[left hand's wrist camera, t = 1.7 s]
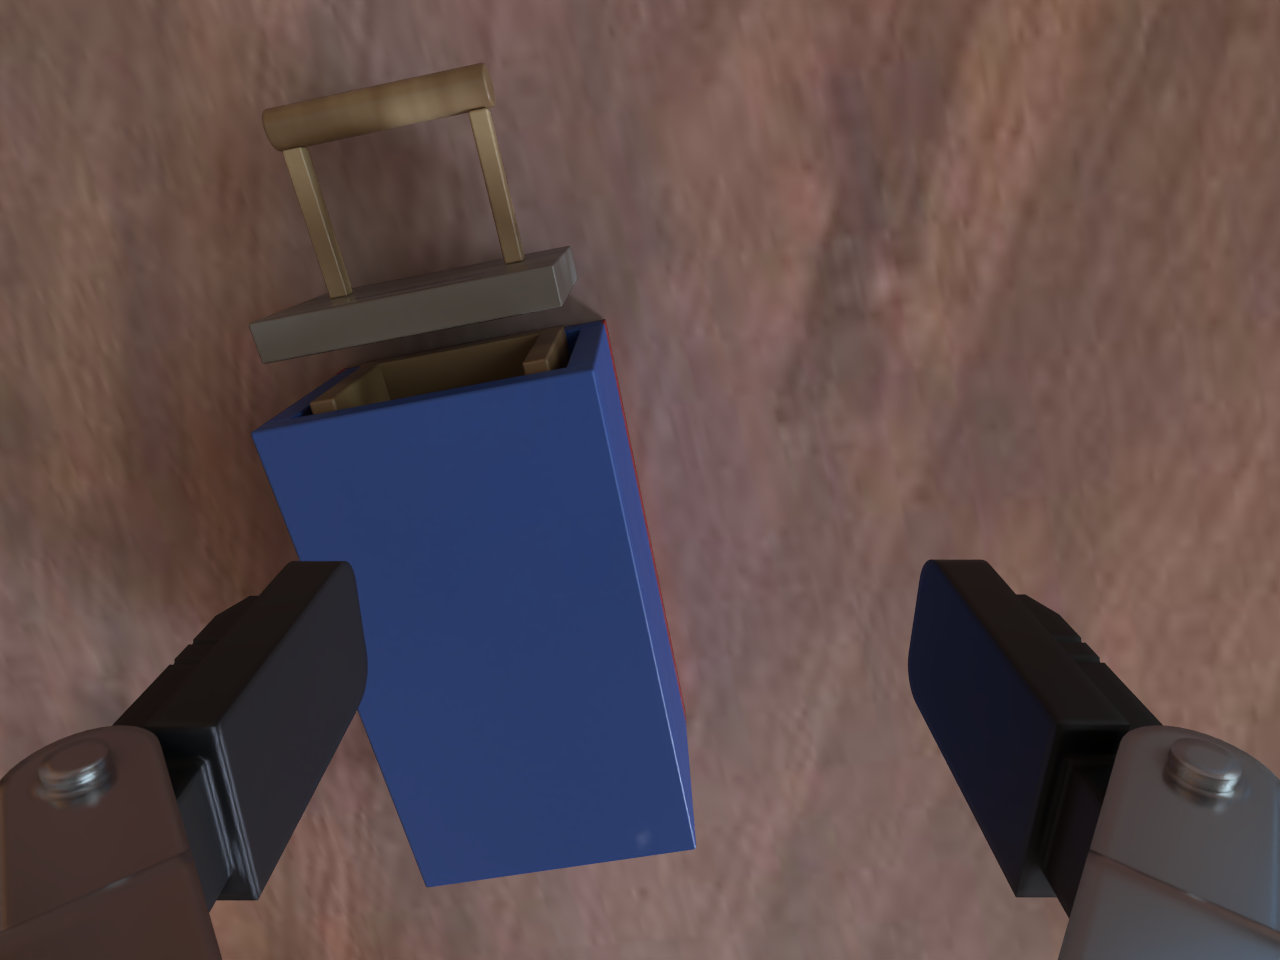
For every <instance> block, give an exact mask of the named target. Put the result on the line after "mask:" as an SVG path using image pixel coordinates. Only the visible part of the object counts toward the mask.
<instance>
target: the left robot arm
mask: <svg viewBox="0 0 1280 960" xmlns="http://www.w3.org/2000/svg"><path fill="white" fill-rule="evenodd" d="M367 673H368V658H367V651H366V644H365V637H364V631H363V624H362V617H361V611H360V604H359V597H358V591H357V584H356V578H355V574H354V570H353V568H352V566H351V565H350V563H348V562H347V561H291V562H289V563H288V564H287V565H286V566H285V567H284V568H283V569H282V570H281V572H280V573H279V574H278V575H277V576H276V577H275V578H274V579H273V581H272V582H271V583H270V584H269V585H268V586H267V587H266V588H265V590H264V591H263V592H262V593H261V594H260V595H259V596H249V597H247V598H246V599H244V600H242V601H240V602H239V603H237V604H235V605H234V606H232V607H230V608H229V609H227V610H225V611H223V612H222V613H220V614H218V615H217V616H215V617H214V618H213V619H212V620H211V621H210V623H209V624H208V625H207V626H206V627H205V628H204V629H203V630H202V631H201V632H200V633H199V634H198V635H197V636H196V637H195V638H194V639H193V644H189V645H188V646H187V647H186V648H185V649H184V650H183V651H182V652H181V653H180V654H179V655H178V656H177V657H176V659H175V663H174V665H169V666H168V667H167V668H166V669H165V670H164V671H163V672H162V673H161V674H160V675H159V677H158V678H157V679H156V680H155V681H154V682H153V683H152V684H151V685H150V686H149V687H148V688H147V689H146V690H145V691H144V692H143V693H142V694H141V696H140V697H139V698H138V699H137V700H136V701H135V702H134V703H133V704H132V705H131V706H130V707H129V708H128V709H127V710H126V711H125V712H124V714H123V715H122V716H121V717H120V718H119V719H118V720H117V721H116V722H115V723H114V724H113V725H112V726H107V727H100V728H95V729H91V730H86V731H83V732H80V733H76V734H73V735H70V736H68V737H65V738H63V739H60V740H58V741H56V742H53V743H51V744H49V745H47V746H45V747H43V748H41V749H40V750H38V751H36V752H34V753H32V754H31V755H29V756H28V757H26V758H25V759H23V760H22V761H21V762H19V763H18V764H17V765H16V766H14V767H13V768H12V769H11V770H10V771H9V772H8V773H7V774H6V775H5V776H4V777H3V778H2V779H1V780H0V960H222V957H221V954H220V950H219V947H218V943H217V940H216V936H215V933H214V929H213V926H212V922H211V919H210V915H209V912H210V910H211V909H212V907H213V905H214V903H215V902H216V900H258V899H259V897H260V895H261V893H262V891H263V889H264V887H265V885H266V884H267V882H268V880H269V878H270V876H271V874H272V872H273V870H274V868H275V866H276V864H277V862H278V861H279V859H280V857H281V855H282V853H283V851H284V849H285V847H286V845H287V843H288V841H289V839H290V838H291V836H292V834H293V832H294V830H295V828H296V826H297V824H298V822H299V820H300V818H301V816H302V814H303V813H304V811H305V809H306V807H307V805H308V803H309V801H310V799H311V797H312V795H313V793H314V791H315V790H316V788H317V786H318V784H319V782H320V780H321V778H322V776H323V774H324V772H325V770H326V768H327V767H328V765H329V763H330V761H331V759H332V757H333V755H334V753H335V751H336V749H337V747H338V745H339V744H340V742H341V740H342V738H343V736H344V734H345V732H346V730H347V728H348V726H349V724H350V722H351V720H352V719H353V717H354V715H355V713H356V711H357V709H358V707H359V705H360V703H361V701H362V698H363V695H364V692H365V688H366V682H367ZM908 673H909V682H910V687H911V691H912V694H913V697H914V700H915V702H916V704H917V706H918V708H919V710H920V712H921V714H922V716H923V718H924V720H925V721H926V723H927V725H928V727H929V729H930V731H931V733H932V735H933V737H934V739H935V741H936V743H937V745H938V747H939V749H940V751H941V753H942V754H943V756H944V758H945V760H946V762H947V764H948V766H949V768H950V770H951V772H952V774H953V776H954V778H955V780H956V782H957V784H958V786H959V787H960V789H961V791H962V793H963V795H964V797H965V799H966V801H967V803H968V805H969V807H970V809H971V811H972V813H973V815H974V817H975V819H976V821H977V822H978V824H979V826H980V828H981V830H982V832H983V834H984V836H985V838H986V840H987V842H988V844H989V846H990V848H991V850H992V852H993V854H994V855H995V857H996V859H997V861H998V863H999V865H1000V867H1001V869H1002V871H1003V873H1004V875H1005V877H1006V879H1007V881H1008V883H1009V885H1010V887H1011V888H1012V890H1013V892H1014V894H1015V896H1016V897H1057V898H1058V900H1059V902H1060V903H1061V905H1062V907H1063V909H1064V910H1065V912H1066V914H1067V916H1068V917H1069V922H1068V926H1067V929H1066V933H1065V936H1064V940H1063V943H1062V947H1061V950H1060V954H1059V957H1058V960H1280V780H1279V779H1278V778H1277V777H1276V776H1275V775H1274V774H1273V773H1272V772H1271V771H1270V770H1269V769H1268V768H1267V767H1266V766H1264V765H1263V764H1262V763H1261V762H1259V761H1258V760H1257V759H1255V758H1254V757H1252V756H1251V755H1249V754H1248V753H1246V752H1244V751H1242V750H1240V749H1239V748H1237V747H1235V746H1233V745H1231V744H1229V743H1227V742H1224V741H1222V740H1220V739H1217V738H1215V737H1212V736H1210V735H1207V734H1204V733H1200V732H1197V731H1194V730H1189V729H1185V728H1180V727H1173V726H1163V725H1162V724H1161V723H1160V722H1159V721H1158V720H1157V718H1156V717H1155V716H1154V715H1153V714H1152V713H1151V712H1150V711H1149V710H1148V709H1147V708H1146V707H1145V706H1144V705H1143V704H1142V702H1141V701H1140V700H1139V699H1138V698H1137V697H1136V696H1135V695H1134V694H1133V693H1132V692H1131V691H1130V690H1129V689H1128V688H1127V686H1126V685H1125V684H1124V683H1123V682H1122V681H1121V680H1120V679H1119V678H1118V677H1117V676H1116V675H1115V674H1114V673H1113V672H1112V670H1111V669H1110V668H1109V667H1108V666H1107V665H1106V664H1105V663H1100V660H1099V657H1098V656H1097V654H1096V653H1095V652H1094V651H1093V650H1092V649H1091V648H1090V647H1089V646H1088V645H1087V644H1086V643H1082V642H1081V637H1080V636H1079V635H1078V634H1077V633H1076V632H1075V631H1074V630H1073V629H1072V628H1071V627H1070V626H1069V625H1068V623H1067V622H1066V621H1065V620H1064V619H1063V618H1062V617H1061V616H1060V615H1059V614H1057V613H1056V612H1054V611H1052V610H1051V609H1049V608H1047V607H1045V606H1044V605H1042V604H1040V603H1039V602H1037V601H1035V600H1034V599H1032V598H1030V597H1029V596H1027V595H1016V594H1015V593H1014V592H1013V591H1012V589H1011V588H1010V587H1009V586H1008V585H1007V584H1006V583H1005V581H1004V580H1003V579H1002V578H1001V577H1000V576H999V575H998V573H997V572H996V571H995V570H994V569H993V568H992V567H991V566H990V564H989V563H988V562H986V561H984V560H928V561H927V562H926V563H925V564H924V566H923V568H922V571H921V575H920V581H919V588H918V594H917V601H916V608H915V615H914V621H913V628H912V635H911V642H910V648H909V656H908Z"/></svg>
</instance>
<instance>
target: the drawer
mask: <svg viewBox="0 0 1280 960" xmlns="http://www.w3.org/2000/svg"><path fill="white" fill-rule="evenodd" d="M494 106H495V93H494V88H493V84H492V80H491V77H490V74H489V71H488V69H487V67H486V65H485V64H484V63H479V64H474V65H469V66H465V67H460V68H455V69H451V70H446V71H442V72H437V73H432V74H428V75H423V76H418V77H414V78H409V79H404V80H400V81H395V82H390V83H386V84H381V85H376V86H372V87H367V88H362V89H358V90H353V91H348V92H344V93H339V94H334V95H330V96H325V97H320V98H316V99H311V100H306V101H302V102H297V103H293V104H288V105H283V106H279V107H274V108H269V109H266V110H265V111H264V112H263V115H262V120H263V126H264V129H265V132H266V135H267V137H268V139H269V141H270V142H271V144H272V145H273V147H274V148H275V149H276V150H278V151H282V152H283V155H284V158H285V161H286V164H287V167H288V170H289V173H290V176H291V179H292V182H293V186H294V189H295V192H296V195H297V198H298V201H299V204H300V207H301V210H302V213H303V216H304V219H305V222H306V225H307V228H308V231H309V234H310V238H311V241H312V244H313V247H314V250H315V253H316V256H317V259H318V262H319V265H320V268H321V271H322V274H323V277H324V280H325V283H326V286H327V290H328V293H327V294H324V295H322V296H319V297H316V298H314V299H311V300H309V301H306V302H304V303H301V304H299V305H296V306H293V307H291V308H288V309H286V310H283V311H281V312H278V313H276V314H273V315H270V316H268V317H265V318H263V319H260V320H258V321H255V322H253V323H250V324H249V328H250V331H251V333H252V336H253V339H254V341H255V344H256V347H257V349H258V352H259V355H260V358H261V360H262V363H264V364H266V363H272V362H277V361H282V360H287V359H293V358H298V357H303V356H308V355H313V354H319V353H324V352H329V351H334V350H339V349H345V348H350V347H355V346H360V345H365V344H371V343H376V342H381V341H386V340H391V339H397V338H402V337H407V336H412V335H418V334H423V333H428V332H433V331H438V330H444V329H449V328H454V327H459V326H464V325H470V324H475V323H480V322H485V321H490V320H496V319H501V318H506V317H511V316H516V315H522V314H527V313H532V312H537V311H543V310H548V309H553V308H558V307H561V306H562V305H563V304H564V302H565V300H566V298H567V297H568V295H569V293H570V291H571V290H572V288H573V286H574V284H575V283H576V281H577V274H576V269H575V264H574V260H573V255H572V250H571V247H570V246H566V247H561V248H556V249H551V250H545V251H540V252H535V253H530V254H525V255H524V252H523V247H522V243H521V239H520V234H519V230H518V226H517V222H516V217H515V213H514V209H513V205H512V200H511V196H510V192H509V187H508V183H507V179H506V175H505V170H504V166H503V162H502V157H501V153H500V149H499V145H498V140H497V136H496V132H495V128H494V123H493V119H492V115H491V111H490V109H487V108H492V107H494ZM468 112H469V118H470V122H471V127H472V131H473V135H474V139H475V143H476V147H477V151H478V155H479V159H480V164H481V168H482V172H483V176H484V180H485V184H486V188H487V192H488V196H489V201H490V205H491V209H492V213H493V217H494V221H495V225H496V229H497V233H498V237H499V242H500V246H501V250H502V254H503V258H504V259H500V260H495V261H490V262H485V263H480V264H474V265H469V266H464V267H459V268H454V269H449V270H444V271H439V272H434V273H429V274H424V275H419V276H414V277H409V278H403V279H398V280H393V281H388V282H383V283H378V284H373V285H368V286H363V287H358V288H353V289H352V287H351V284H350V281H349V278H348V275H347V271H346V268H345V265H344V262H343V259H342V256H341V252H340V249H339V246H338V243H337V240H336V237H335V233H334V230H333V227H332V224H331V221H330V218H329V214H328V211H327V208H326V205H325V202H324V199H323V195H322V192H321V189H320V186H319V183H318V180H317V176H316V173H315V170H314V167H313V164H312V161H311V157H310V154H309V151H308V149H307V148H305V147H307V146H311V145H316V144H321V143H326V142H330V141H335V140H340V139H345V138H349V137H354V136H359V135H364V134H368V133H373V132H378V131H383V130H387V129H392V128H397V127H401V126H406V125H411V124H416V123H420V122H425V121H430V120H435V119H439V118H444V117H449V116H454V115H458V114H463V113H468ZM570 357H571V355H570V351H569V346H568V342H567V338H566V333H565V329H564V326H563V325H561V326H555V327H550V328H545V329H540V330H534V331H529V332H524V333H519V334H513V335H508V336H503V337H498V338H492V339H487V340H482V341H477V342H471V343H466V344H461V345H456V346H450V347H445V348H440V349H435V350H429V351H424V352H419V353H414V354H408V355H403V356H398V357H393V358H387V359H382V360H377V361H372V362H367V363H365V364H364V365H362V366H361V367H359V369H357V370H356V371H355V372H353V373H352V374H350V375H349V376H347V377H346V378H345V379H343V380H342V381H340V382H339V383H338V384H336V385H335V386H333V387H332V388H330V389H329V390H328V391H326V392H325V393H323V394H322V395H320V396H319V397H318V398H316V399H315V400H313V401H312V402H311V403H310V407H311V410H312V413H313V415H315V414H320V413H325V412H331V411H336V410H341V409H347V408H352V407H358V406H363V405H368V404H374V403H379V402H384V401H390V400H395V399H400V398H406V397H411V396H416V395H422V394H427V393H433V392H438V391H443V390H449V389H454V388H459V387H465V386H470V385H475V384H481V383H486V382H491V381H497V380H502V379H508V378H513V377H518V376H524V375H529V374H534V373H540V372H545V371H550V370H556V369H561V368H566V367H567V365H568V362H569V360H570Z"/></svg>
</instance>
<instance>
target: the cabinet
mask: <svg viewBox="0 0 1280 960" xmlns="http://www.w3.org/2000/svg"><path fill="white" fill-rule="evenodd" d="M564 329H565V333H566V338H567V342H568V346H569V351H570V355H571V357H570V360H569V362H568V365H567V367H566V368H561V369H556V370H550V371H545V372H540V373H534V374H529V375H524V376H518V377H513V378H508V379H502V380H497V381H491V382H486V383H481V384H475V385H470V386H465V387H459V388H454V389H449V390H443V391H438V392H433V393H427V394H422V395H416V396H411V397H406V398H400V399H395V400H390V401H384V402H379V403H374V404H368V405H363V406H358V407H352V408H347V409H341V410H336V411H331V412H325V413H320V414H315V415H313V413H312V410H311V407H310V403H311V402H312V401H313V400H315V399H316V398H318V397H319V396H320V395H322V394H323V393H325V392H326V391H328V390H329V389H330V388H332V387H333V386H335V385H336V384H338V383H339V382H340V381H342V380H343V379H345V378H346V377H347V376H349V375H350V374H352V373H353V372H355V371H356V370H357V369H359V367H361V366H359V367H354V368H348V369H347V368H346V369H343V370H341V371H340V372H338V373H337V375H336V376H334V377H333V378H331V379H330V380H328V381H327V382H325V383H324V384H322V385H321V386H319V387H318V388H317V389H315V390H314V391H312V392H311V393H309V394H308V395H306V396H305V397H303V398H302V399H300V400H299V401H297V402H296V403H294V404H293V405H291V406H290V407H288V408H287V409H285V410H284V411H282V412H281V413H279V414H278V415H276V416H275V417H273V418H272V419H270V420H269V421H267V422H266V423H265V424H263V425H262V426H260V427H259V428H257V429H256V430H254V431H253V432H252V433H251V436H252V439H253V441H254V444H255V446H256V449H257V452H258V454H259V457H260V459H261V462H262V464H263V467H264V470H265V472H266V475H267V477H268V480H269V483H270V485H271V488H272V490H273V493H274V495H275V498H276V501H277V503H278V506H279V508H280V511H281V514H282V516H283V519H284V521H285V524H286V526H287V529H288V532H289V534H290V537H291V539H292V542H293V545H294V547H295V550H296V552H297V555H298V557H299V560H300V561H347V562H348V563H350V565H351V566H352V568H353V570H354V574H355V578H356V584H357V591H358V597H359V604H360V611H361V617H362V624H363V631H364V637H365V644H366V651H367V658H368V673H367V682H366V688H365V692H364V695H363V698H362V701H361V703H360V705H359V707H358V709H357V710H358V712H359V715H360V717H361V720H362V723H363V725H364V728H365V730H366V733H367V736H368V738H369V741H370V743H371V746H372V748H373V751H374V754H375V756H376V759H377V761H378V764H379V767H380V769H381V772H382V774H383V777H384V779H385V782H386V785H387V787H388V790H389V792H390V795H391V797H392V800H393V803H394V805H395V808H396V810H397V813H398V816H399V818H400V821H401V823H402V826H403V828H404V831H405V834H406V836H407V839H408V841H409V844H410V847H411V849H412V852H413V854H414V857H415V859H416V862H417V865H418V867H419V870H420V872H421V875H422V878H423V880H424V883H425V885H426V887H434V886H441V885H448V884H455V883H462V882H469V881H475V880H482V879H489V878H496V877H503V876H510V875H517V874H524V873H531V872H538V871H545V870H552V869H559V868H566V867H573V866H580V865H587V864H594V863H601V862H608V861H615V860H622V859H629V858H636V857H643V856H650V855H657V854H664V853H671V852H678V851H685V850H692V849H695V848H696V839H695V829H694V815H693V803H692V791H691V779H690V768H689V756H688V744H687V732H686V715H685V708H684V703H683V698H682V693H681V688H680V683H679V678H678V673H677V669H676V664H675V659H674V654H673V649H672V644H671V639H670V634H669V629H668V624H667V619H666V614H665V610H664V605H663V600H662V595H661V590H660V585H659V580H658V575H657V570H656V565H655V560H654V555H653V551H652V546H651V541H650V536H649V531H648V526H647V521H646V516H645V511H644V506H643V501H642V496H641V492H640V487H639V482H638V477H637V472H636V467H635V462H634V457H633V452H632V447H631V442H630V437H629V433H628V428H627V423H626V418H625V413H624V408H623V403H622V398H621V393H620V388H619V383H618V378H617V374H616V369H615V364H614V359H613V354H612V349H611V344H610V339H609V334H608V329H607V324H606V319H603V320H601V321H596V322H590V323H585V324H580V325H574V326H569V327H564Z"/></svg>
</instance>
